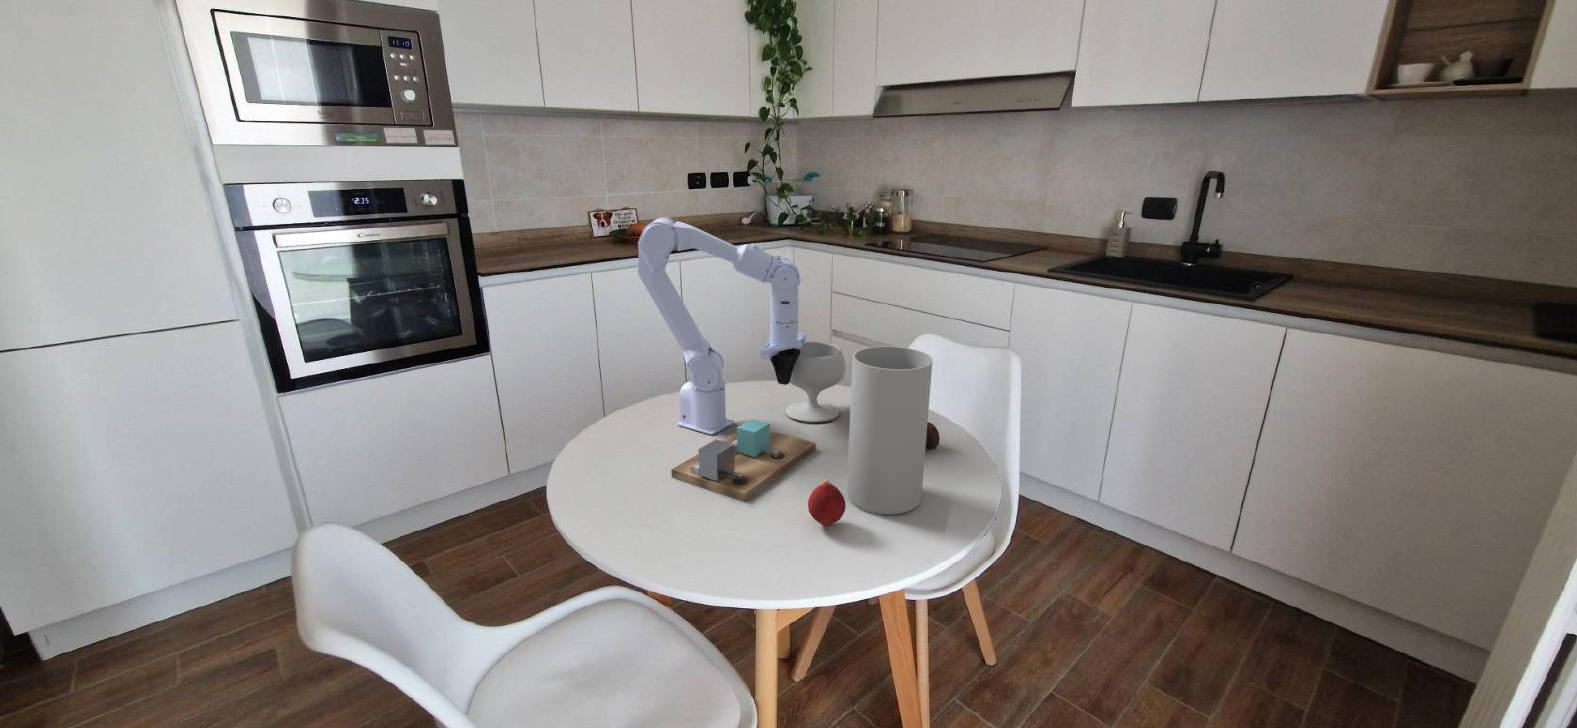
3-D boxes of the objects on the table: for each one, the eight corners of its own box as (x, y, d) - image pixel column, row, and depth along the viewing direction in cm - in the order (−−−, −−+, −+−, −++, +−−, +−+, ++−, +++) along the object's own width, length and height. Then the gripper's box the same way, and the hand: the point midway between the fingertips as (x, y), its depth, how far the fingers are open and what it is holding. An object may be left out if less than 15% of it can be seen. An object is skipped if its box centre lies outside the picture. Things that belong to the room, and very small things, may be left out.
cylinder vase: (878, 524, 105) (887, 375, 97) (832, 491, 115) (837, 353, 107) (936, 504, 111) (949, 362, 104) (887, 474, 121) (896, 342, 114)
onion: (848, 519, 106) (850, 474, 104) (839, 538, 101) (840, 491, 99) (813, 513, 108) (814, 468, 106) (802, 531, 103) (803, 485, 101)
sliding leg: (737, 452, 125) (736, 427, 124) (752, 442, 129) (752, 418, 128) (770, 461, 122) (770, 436, 120) (785, 451, 126) (785, 427, 124)
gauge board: (671, 476, 119) (671, 463, 119) (749, 431, 139) (748, 419, 138) (744, 501, 111) (744, 487, 111) (815, 449, 131) (816, 437, 130)
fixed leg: (699, 475, 116) (698, 449, 115) (716, 464, 120) (716, 439, 119) (733, 486, 112) (733, 459, 111) (751, 475, 117) (750, 449, 115)
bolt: (867, 469, 128) (927, 450, 135) (881, 466, 123) (943, 447, 130) (858, 439, 128) (919, 422, 135) (872, 436, 124) (934, 418, 131)
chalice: (794, 429, 140) (795, 361, 135) (772, 406, 152) (772, 343, 148) (854, 420, 145) (857, 355, 140) (827, 399, 157) (829, 337, 153)
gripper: (781, 330, 127) (781, 397, 132) (819, 315, 139) (817, 377, 143) (751, 325, 131) (751, 390, 135) (790, 311, 143) (789, 371, 147)
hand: (783, 383), depth 140 cm, fingers closed
